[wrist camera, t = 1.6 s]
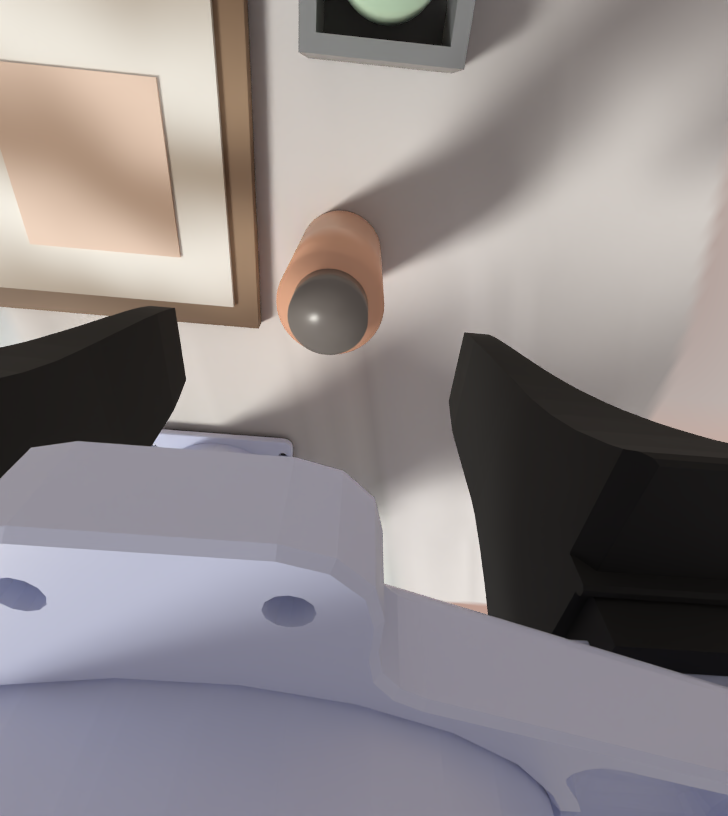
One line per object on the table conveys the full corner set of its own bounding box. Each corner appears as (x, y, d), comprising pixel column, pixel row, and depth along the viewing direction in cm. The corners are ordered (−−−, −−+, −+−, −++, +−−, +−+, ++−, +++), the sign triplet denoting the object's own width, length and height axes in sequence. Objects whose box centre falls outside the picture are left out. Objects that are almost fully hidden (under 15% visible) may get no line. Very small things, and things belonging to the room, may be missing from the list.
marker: (376, 295, 21) (378, 373, 15) (300, 288, 20) (272, 364, 15) (384, 214, 19) (391, 267, 13) (301, 206, 18) (268, 256, 13)
